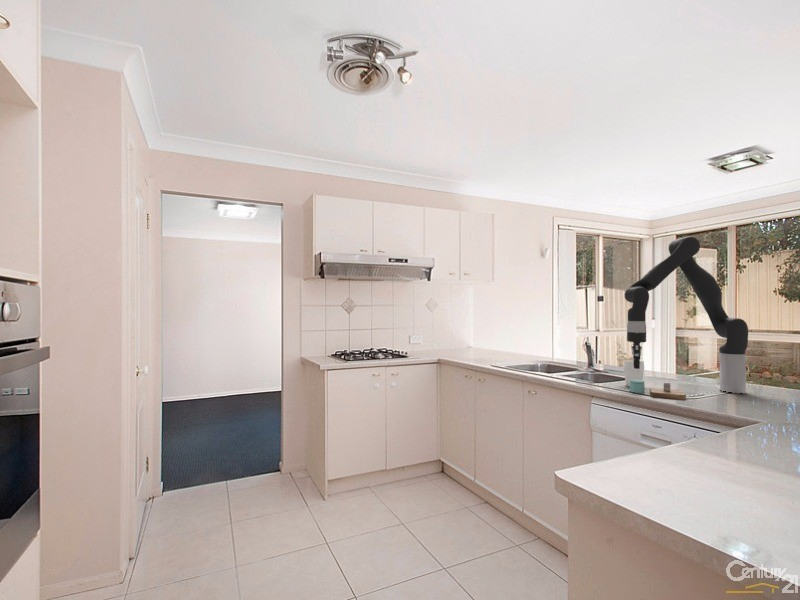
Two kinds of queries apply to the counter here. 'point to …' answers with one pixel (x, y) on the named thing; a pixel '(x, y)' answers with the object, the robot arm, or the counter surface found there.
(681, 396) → the stud block
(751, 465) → the counter surface
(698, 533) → the counter surface
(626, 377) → the cup
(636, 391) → the cap
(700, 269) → the robot arm
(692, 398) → the counter surface
